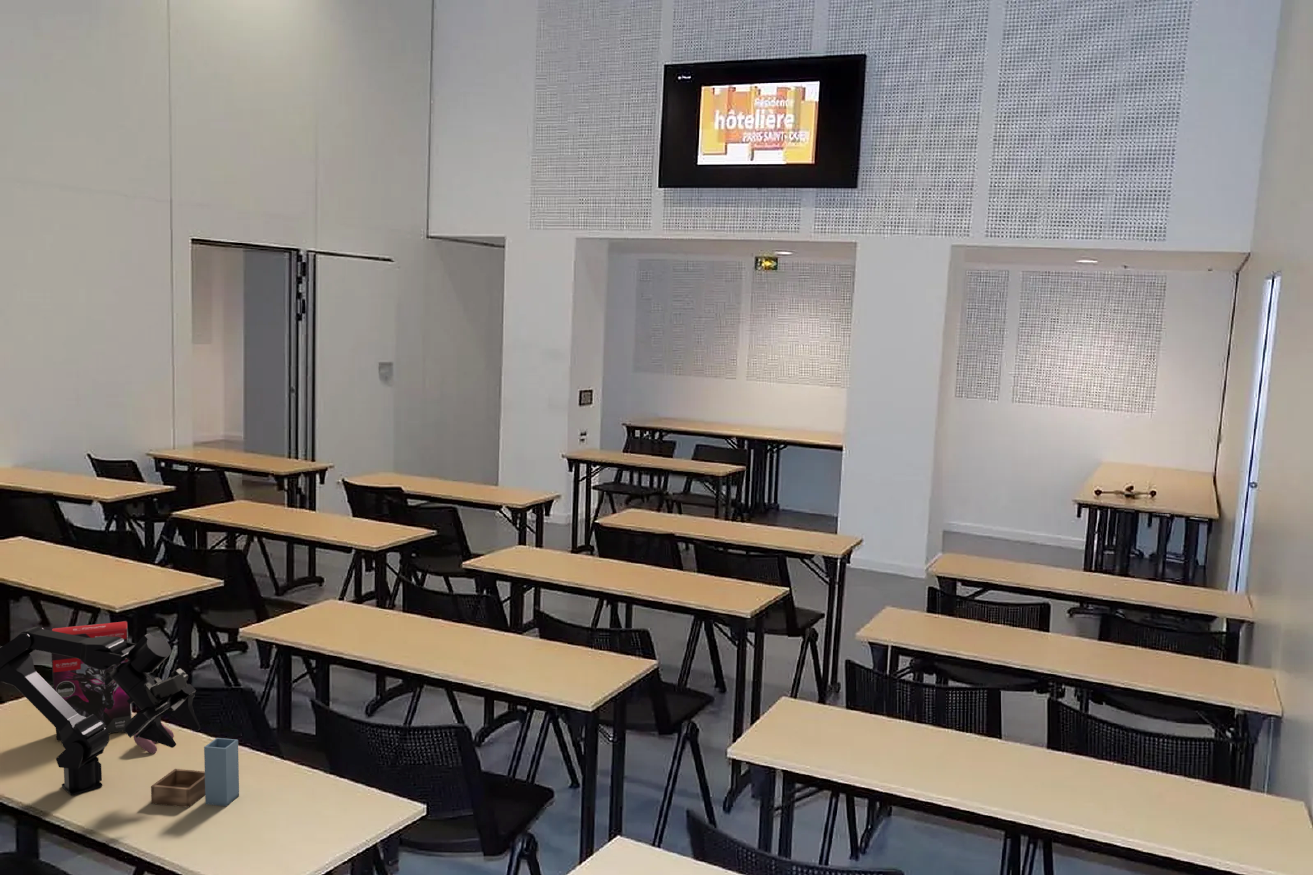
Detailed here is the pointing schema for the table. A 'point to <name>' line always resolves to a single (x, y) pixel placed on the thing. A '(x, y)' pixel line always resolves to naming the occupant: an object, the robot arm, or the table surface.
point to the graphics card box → (92, 681)
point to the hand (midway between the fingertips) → (186, 737)
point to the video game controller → (150, 742)
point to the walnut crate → (179, 788)
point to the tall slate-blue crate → (221, 771)
